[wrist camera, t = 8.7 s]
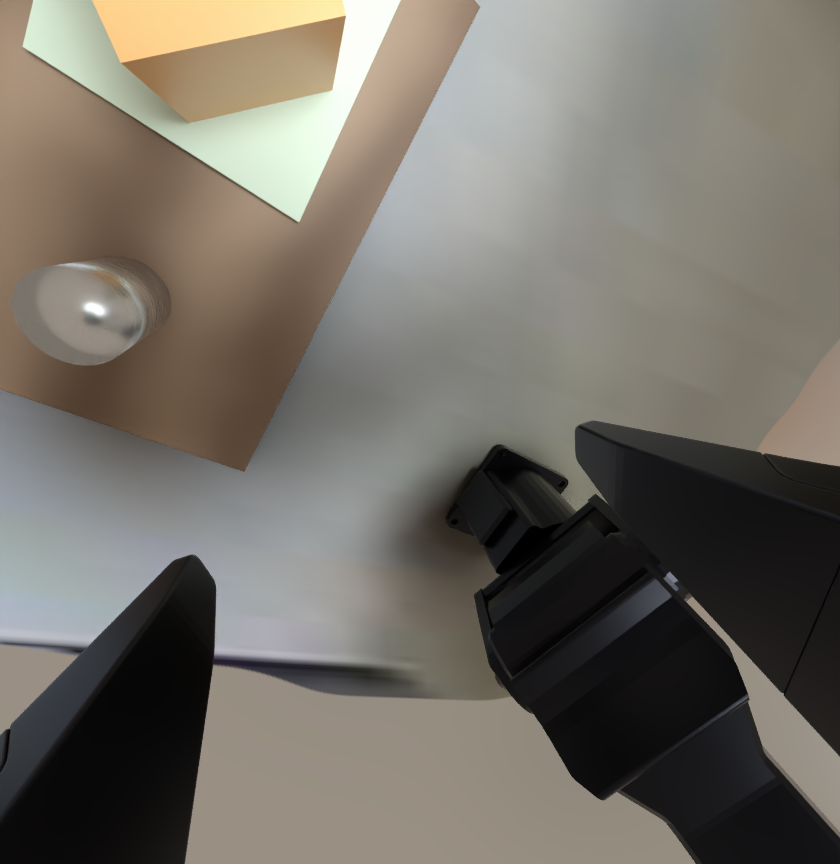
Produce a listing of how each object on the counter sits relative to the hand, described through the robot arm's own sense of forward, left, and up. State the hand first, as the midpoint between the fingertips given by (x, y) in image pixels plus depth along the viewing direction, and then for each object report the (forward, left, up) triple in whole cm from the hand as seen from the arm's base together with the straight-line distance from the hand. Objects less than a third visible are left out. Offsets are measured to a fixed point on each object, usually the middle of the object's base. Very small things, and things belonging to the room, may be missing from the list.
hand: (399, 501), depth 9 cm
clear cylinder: (+9, +2, -12) cm, 15 cm away
